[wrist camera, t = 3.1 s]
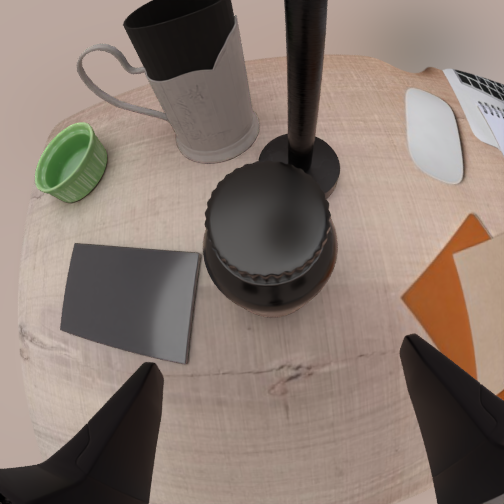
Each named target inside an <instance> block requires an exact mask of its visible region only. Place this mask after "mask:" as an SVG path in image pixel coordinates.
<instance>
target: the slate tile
mask: <svg viewBox="0 0 504 504" xmlns="http://www.w3.org/2000/svg"><path fill="white" fill-rule="evenodd" d="M200 259H201V254H200V253H195V252H182V251H169V250H156V249H143V248H130V247H117V246H105V245H92V244H80V243H75V244H74V248H73V252H72V257H71V262H70V267H69V272H68V277H67V283H66V288H65V295H64V301H63V309H62V317H61V326H60V330H62V331H64V332H67V333H70V334H73V335H76V336H79V337H82V338H85V339H88V340H91V341H94V342H97V343H101V344H104V345H107V346H111V347H114V348H118V349H121V350H125V351H129V352H133V353H136V354H140V355H145V356H149V357H153V358H157V359H162V360H166V361H171V362H176V363H181V364H187V363H188V354H189V345H190V335H191V326H192V318H193V310H194V302H195V294H196V287H197V279H198V272H199V265H200Z"/></svg>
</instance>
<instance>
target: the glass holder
mask: <svg viewBox="0 0 504 504" xmlns="http://www.w3.org/2000/svg"><path fill="white" fill-rule="evenodd" d="M123 26H124V28H125V30H126V32H127V34H128V36H129V38H130V40H131V42H132V44H133V46H134V48H135V50H136V52H137V54H138V56H139V58H140V60H141V62H142V64H143V66H144V67H140V68H134V67H132V66H130V64H129V63H128V62H127V60H126V58H125V57H124V55H123V54H122V53H121V52H120V51H119V50H118V49H116V48H115V47H113V46H110V45H107V44H97V45H93V46H91V47H89V48H88V49H86V50H85V51H84V52H83V53H82V54H81V56H80V57H79V60H78V62H77V72H78V73H79V76H80V77H81V79H82V80H83V82H84V83H85V84H86V85H87V87H88V88H89V89H90V90H91V91H93V92H94V93H95V94H96V95H97V96H99V97H100V98H102V99H103V100H105V101H107V102H108V103H110V104H112V105H114V106H116V107H119V108H122V109H125V110H129V111H133V112H137V113H140V114H145V115H149V116H153V117H157V118H160V119H163V120H166V121H168V122H169V123H170V124H171V126H172V127H173V129H174V131H175V133H176V142H177V146H178V148H179V150H180V152H181V153H182V154H183V155H184V156H185V157H187V158H188V159H190V160H192V161H195V162H199V163H218V162H223V161H226V160H230V159H232V158H234V157H236V156H238V155H240V154H241V153H243V152H244V151H246V150H247V149H248V148H249V147H250V146H251V145H252V144H253V142H254V141H255V139H256V137H257V136H258V132H259V120H258V117H257V115H256V114H255V112H254V111H253V110H252V103H251V97H250V91H249V85H248V79H247V73H246V67H245V61H244V56H243V50H242V44H241V38H240V32H239V27H238V21H237V16H236V15H235V16H234V13H233V9H232V3H231V0H153V1H150V2H149V3H147V4H145V5H143V6H141V7H140V8H138V9H137V10H135V11H134V12H133V13H131V14H130V15H129V16H128V17H127V19H126V20H125V21H124V24H123ZM95 50H100V51H106V52H108V53H111V54H112V55H114V56H115V57H116V58H117V59H118V60H119V62H120V63H121V65H122V66H123V68H124V69H125V70H126V71H127V72H128V73H131V74H140V73H144V72H145V75H146V77H147V79H148V80H149V83H150V85H151V87H152V89H153V91H154V93H155V95H156V96H157V98H158V100H159V102H160V104H161V106H162V108H163V110H164V112H165V113H162V112H159V111H156V110H152V109H148V108H143V107H139V106H136V105H132V104H129V103H126V102H123V101H120V100H118V99H116V98H114V97H112V96H110V95H109V94H107V93H105V92H104V91H102V90H101V89H99V88H98V87H97V86H96V85H95V84H94V83H93V82H92V81H91V79H90V78H89V77H88V76H87V75H86V73H85V71H84V69H83V67H82V59H83V57H84V56H85V55H86V54H88V53H89V52H91V51H95Z"/></svg>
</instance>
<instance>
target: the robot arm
mask: <svg viewBox="0 0 504 504" xmlns="http://www.w3.org/2000/svg"><path fill="white" fill-rule="evenodd" d="M400 358H401V362H402V366H403V371H404V375H405V379H406V384H407V388H408V392H409V395H410V398H411V401H412V404H413V407H414V410H415V414H416V417H417V420H418V423H419V427H420V430H421V434H422V437H423V441H424V445H425V448H426V452H427V456H428V460H429V464H430V469H431V473H432V477H433V483H434V488H435V493H436V498H437V503H438V504H504V401H503V400H502V399H500V398H499V397H497V396H496V395H495V394H493V393H492V392H491V391H489V390H488V389H487V388H486V387H484V386H483V385H482V384H480V383H479V382H478V381H477V380H475V379H474V378H473V377H472V376H470V375H469V374H468V373H467V372H465V371H464V370H463V369H462V368H460V367H459V366H458V365H456V364H455V363H454V362H452V361H451V360H450V359H449V358H447V357H446V356H445V355H443V354H442V353H441V352H439V351H438V350H437V349H436V348H434V347H433V346H432V345H430V344H429V343H428V342H426V341H425V340H424V339H422V338H421V337H420V336H418V335H417V334H410V335H406V336H405V337H404V339H403V343H402V345H401V348H400ZM163 385H164V378H163V375H162V373H161V371H160V370H159V368H158V366H157V365H156V364H155V363H153V362H145V363H143V364H142V365H141V366H140V367H139V368H138V370H137V371H136V372H135V373H134V374H133V375H132V376H131V377H130V378H129V379H128V380H127V381H126V382H125V383H124V384H123V385H122V387H121V388H120V389H119V390H118V391H117V392H116V393H115V394H114V395H113V396H112V397H111V398H110V399H109V400H108V401H107V403H106V404H105V405H104V406H103V407H102V408H101V409H100V410H99V411H98V412H97V413H96V414H95V415H94V416H93V417H92V419H91V420H90V421H89V422H88V424H86V425H85V426H84V427H83V428H82V429H81V430H80V431H79V432H78V433H77V434H76V435H75V436H74V437H73V438H72V439H71V440H70V441H69V442H68V443H67V444H65V445H64V446H63V447H62V448H61V449H60V450H58V451H57V452H56V453H55V454H54V455H52V456H51V457H50V458H49V459H48V460H46V461H45V462H43V463H40V464H37V465H32V466H25V467H16V468H7V469H0V504H149V498H150V489H151V481H152V474H153V466H154V459H155V453H156V446H157V440H158V434H159V428H160V422H161V415H162V400H163Z"/></svg>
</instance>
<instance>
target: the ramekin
mask: <svg viewBox="0 0 504 504" xmlns="http://www.w3.org/2000/svg"><path fill="white" fill-rule="evenodd" d="M106 164H107V153H106V150H105V148H104V147H103V145H102V144H101V142H100V141H99V139H98V138H97V137H96V135H95V133H94V131H93V129H92V127H91V126H90V125H89V124H87V123H84V122H80V123H76V124H73V125H71V126H69V127H67V128H65V129H64V130H63V131H61V132H60V133H59V134H58V135H57V136H56V137H55V138H54V139H53V140H52V141H51V142H50V143H49V145H48V146H47V147H46V149H45V150H44V152H43V154H42V155H41V157H40V160H39V162H38V165H37V168H36V172H35V183H36V186H37V188H38V189H39V190H40V191H42V192H44V193H49V194H51V195H53V196H54V197H56V198H58V199H60V200H62V201H64V202H68V203H71V202H75V201H78V200H80V199H82V198H83V197H85V196H86V195H87V194H88V193H90V192H91V191H92V190H93V188H94V187H95V186H96V185H97V183H98V182H99V180H100V179H101V177H102V175H103V173H104V170H105V168H106Z"/></svg>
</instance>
